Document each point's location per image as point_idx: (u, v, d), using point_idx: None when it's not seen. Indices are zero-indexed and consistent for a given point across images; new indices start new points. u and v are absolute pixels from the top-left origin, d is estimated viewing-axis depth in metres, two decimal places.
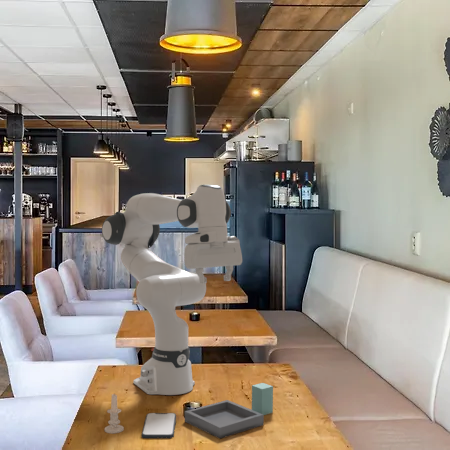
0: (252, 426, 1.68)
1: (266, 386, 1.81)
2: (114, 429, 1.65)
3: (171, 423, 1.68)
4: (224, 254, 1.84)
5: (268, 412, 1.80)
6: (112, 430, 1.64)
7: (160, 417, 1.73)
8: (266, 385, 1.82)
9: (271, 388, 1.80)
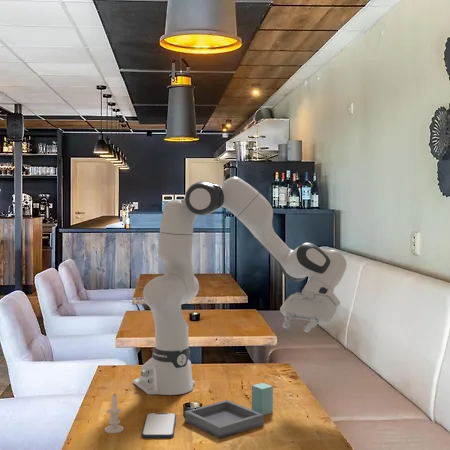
0: (252, 426, 1.68)
1: (266, 386, 1.81)
2: (114, 429, 1.65)
3: (171, 423, 1.68)
4: None
5: (268, 412, 1.80)
6: (112, 430, 1.64)
7: (160, 417, 1.73)
8: (266, 385, 1.82)
9: (271, 388, 1.80)
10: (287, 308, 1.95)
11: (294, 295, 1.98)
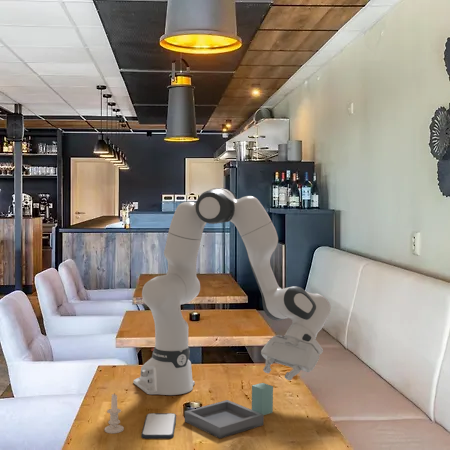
0: (252, 426, 1.68)
1: (266, 386, 1.81)
2: (114, 429, 1.65)
3: (171, 424, 1.68)
4: None
5: (268, 412, 1.80)
6: (112, 430, 1.64)
7: (160, 417, 1.73)
8: (266, 385, 1.82)
9: (271, 388, 1.80)
10: (268, 352, 1.91)
11: (276, 338, 1.94)
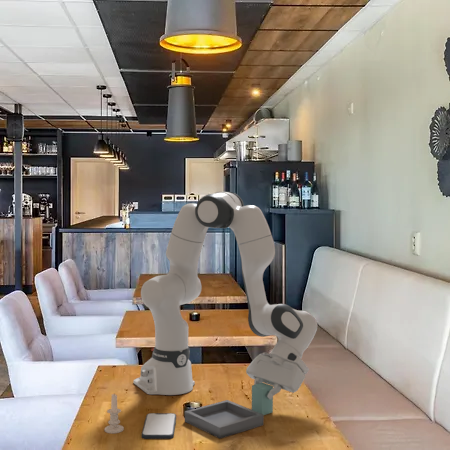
0: (252, 426, 1.68)
1: (266, 386, 1.81)
2: (114, 429, 1.65)
3: (171, 424, 1.68)
4: None
5: (268, 412, 1.80)
6: (112, 430, 1.64)
7: (160, 417, 1.72)
8: (266, 385, 1.82)
9: (271, 388, 1.80)
10: (253, 370, 1.87)
11: (261, 356, 1.90)
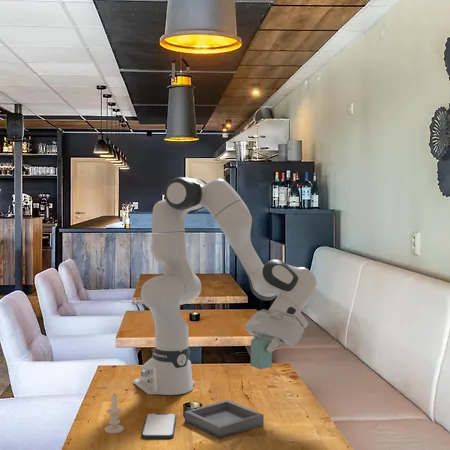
0: (252, 426, 1.68)
1: (265, 340, 1.80)
2: (114, 429, 1.65)
3: (171, 424, 1.68)
4: None
5: (267, 366, 1.79)
6: (112, 430, 1.64)
7: (160, 418, 1.72)
8: (265, 339, 1.81)
9: (270, 342, 1.80)
10: (252, 326, 1.87)
11: (260, 312, 1.89)
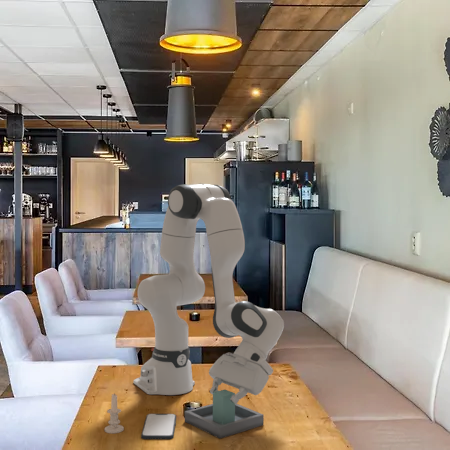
0: (252, 426, 1.68)
1: (228, 393, 1.71)
2: (114, 429, 1.65)
3: (171, 424, 1.68)
4: None
5: (230, 420, 1.70)
6: (112, 430, 1.64)
7: (160, 418, 1.72)
8: (228, 392, 1.72)
9: None
10: (216, 372, 1.78)
11: (225, 356, 1.81)
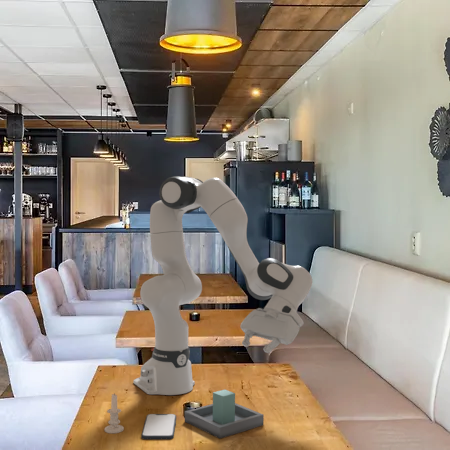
0: (252, 426, 1.68)
1: (228, 393, 1.71)
2: (114, 429, 1.65)
3: (171, 424, 1.67)
4: None
5: (230, 420, 1.70)
6: (112, 430, 1.64)
7: (160, 418, 1.72)
8: (228, 392, 1.72)
9: (233, 395, 1.71)
10: (247, 325, 1.85)
11: (256, 311, 1.88)
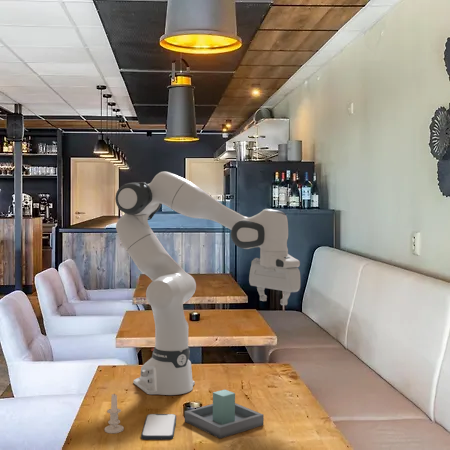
0: (252, 426, 1.68)
1: (228, 393, 1.71)
2: (114, 429, 1.65)
3: (171, 424, 1.67)
4: None
5: (230, 420, 1.70)
6: (112, 430, 1.64)
7: (160, 418, 1.72)
8: (228, 392, 1.72)
9: (233, 395, 1.71)
10: (255, 282, 1.96)
11: (254, 265, 1.96)
